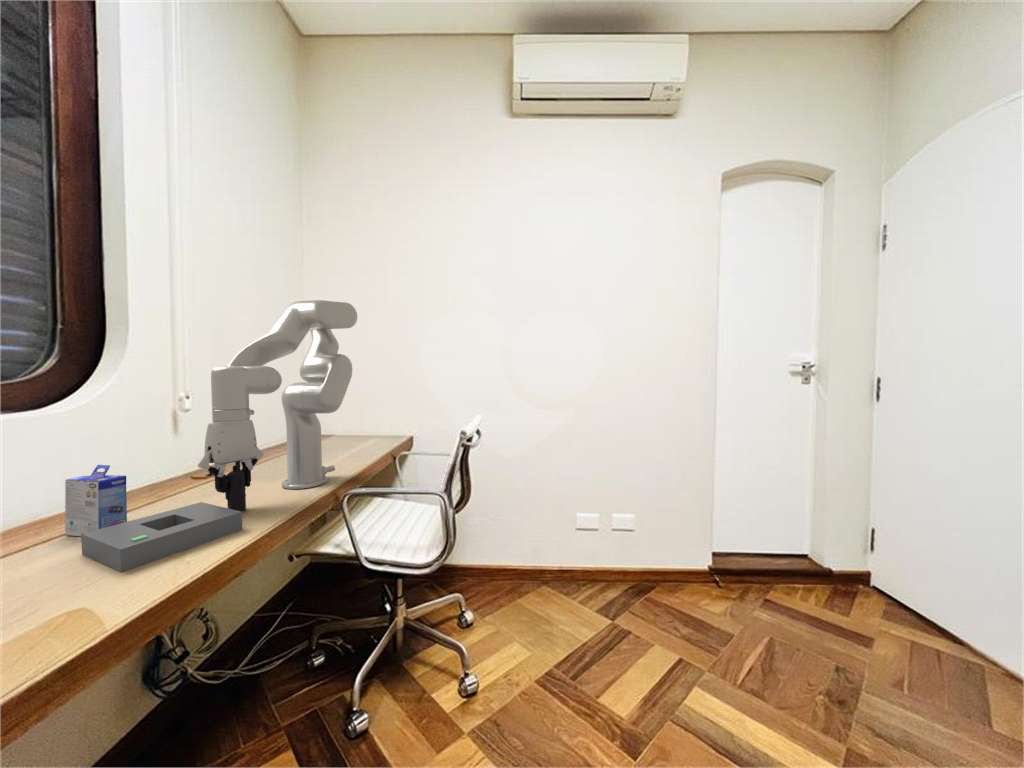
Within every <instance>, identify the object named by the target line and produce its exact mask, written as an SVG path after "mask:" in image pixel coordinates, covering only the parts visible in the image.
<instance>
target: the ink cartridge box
mask: <svg viewBox="0 0 1024 768" xmlns="http://www.w3.org/2000/svg"><path fill="white" fill-rule="evenodd" d="M110 467H111V465H108V464H107V465H106V464H97V465H96V466H95V468H94V469H93V470H92V473H91V474H88V475H83V476H77V477H76V476H75V477H72V478H68V479H65V480H64V484H65V485H64V487H65V488H64V489H65V490H64V491H65V492H64V493H65V494H64V495H65V496H64V497H65V498H64V499H65V500H64V503H65V507H64V509H65V511H64V512H65V513H64V514H65V516H64V517H65V519H64V523H65V524H64V525H65V526H64V527H65V529H64V532H65V533H64V534H65V536H74V537H81V534H83V533H86V532H90V531H94V530H98V529H102V528H105V527H109V526H113V525H117V524H120V523H124V522H128V509H127V508H128V507H127V505H128V504H127V502H128V501H127V500H128V499H127V496H128V495H127V475H122V474H121V475H120V474H119V475H116V474H107V472H108V471H109V470H110ZM99 469H103V471H98V470H99Z"/></svg>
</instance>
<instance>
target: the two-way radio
mask: <svg viewBox="0 0 1024 768" xmlns="http://www.w3.org/2000/svg"><path fill="white" fill-rule="evenodd" d="M234 463H235V464H234V465H233V466H232V470H231V471H229V472H228V473H227V475H226V474H225V473H224V476H226V477H227V492H226V493H224V495H225V500H227V508H228V509H232V510H237V511H241V512H242V513H243V511H244V512H245V511H246V510H247V509H246V508H247V503H246V502H247V500H246V499H247V498H246V497H247V493H246V488H247V487H246V486H245V473H244V472H242V471H240V470H241V464H240V461H237V462H234Z"/></svg>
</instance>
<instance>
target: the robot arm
mask: <svg viewBox="0 0 1024 768" xmlns="http://www.w3.org/2000/svg"><path fill="white" fill-rule="evenodd" d="M357 322H358V312H357V309H356V307H354V305H352V304H351V303H349V302H345V301H333V300H321V299H317V300H299V301H298V300H297V301H293V302H291V303H290V304H289V305H287V307H285V309H284V310H283V312H282V314H280V316H279V317H278V319H277V320H276V321H275V323H274V324H273V326H272V327H271V328H270V330H269V331H268V332H267V333H266V334H265V335H263V336H261V337H259V338H258V339H256V340H255V341H253V342H251V343H249V345H247V346H245V347H244V348H243V349H241V350H240V351H238V353H236V355H234V356H233V358H232V360H231V361H230V362H229V363H228V365H227V366H216V367H213V368H212V369H211V372H210V386H211V388H210V389H211V413H212V414H211V415H212V422H210V423H209V422H208V424H207V428H206V432H205V438H204V439H205V440H204V456H203V458H201V460H200V462H199V463H198V464H197V467H198V468H199V469H202V470H203V471H206V472H208V474H211V475H212V477H214V488H215V491H216V492H217V493H222V494H225V493H226V492H227V477H226V476H227V475H226V476H224V474H225V471H226V467H227V464H231V463H235V462H237V461H240V468H241V469H240V471H242V472H244V473H245V488H248V487H251V481H252V473H251V472H252V470H253V469H254V467H255V465H256V464H257V462H258V461H259V460H260V459H261V458H262V457H263V456H264V452H263V451H262V450H261V449H260V448H259V447H258V443H257V442H258V440H257V434H256V429H255V425H254V421H253V420H252V419H251V416H253V415H255V410H254V409H251V407H250V395H269V394H272V393H275V392H276V391H278V390H279V389H280V388H281V385H282V381H283V378H282V376H281V373H280V372H279V371H278V370H277V369H276V368H273V367H270V366H268V365H266V364H268V363H270V362H272V361H275V360H278V359H281V358H284V357H286V356H288V355H290V354H293V353H295V352H296V351H297V350H298V349H299V347H300V346H301V344H302V342H303V341H304V339H305V338H306V336H307V335H308V334H309V332H310V334H311V343H310V345H309V347H308V350H307V351H306V354H305V356H304V357H303V358H304V359H303V360H302V362H301V366H300V369H299V376H300V377H301V379H302V380H303V382H295V383H291V384H289V385H288V386H286V387H285V388H284V389H283V391H282V394H281V405H282V408H283V412H284V418H285V425H286V426H285V427H286V430H285V431H286V460H287V461H286V465H287V466H286V467H287V479H285V480H283V481H282V482H281V487H282V488H284V489H286V490H287V489H289V490H300V489H309V488H314V487H319V486H321V485H325V484H326V483H327V482H329V481H328V478H329V477H328V476H327V473H332V472H334V471H335V470H336V467H335V465H334V464H333V465H329V466H324V465H323V456H322V455H323V454H322V452H323V451H322V448H323V447H322V427H321V422H320V420H319V418H318V416H317V414H332V413H335V412H336V411H338V410H339V408H340V407H341V405H342V404H343V401H344V399H345V396H346V393H347V390H348V388H349V385H350V382H351V380H352V377H353V364H352V361H351V358H349V357H348V356H346V355H345V354H341V353H338V352H339V347H340V345H339V342H338V339H337V337H335V335H334V333H333V331H332V330H336V329H337V330H339V329H341V330H342V329H350V328H353V327H354V326H355V325H356V323H357ZM304 381H305V382H304ZM210 464H213V466H212V465H210Z"/></svg>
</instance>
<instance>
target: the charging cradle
mask: <svg viewBox="0 0 1024 768" xmlns="http://www.w3.org/2000/svg"><path fill="white" fill-rule="evenodd" d="M243 528H244V527H243V512H241V511H237V510H232V509H228V507H224V506H220V505H215V504H211V503H207V502H203V501H200V502H198V503H191V504H188V505H185V506H181V507H178V508H174V509H170V510H165V511H163V512H159V513H155V514H151V515H146V516H142V517H140V518H136V519H132V520H129V521H128V520H127V522H124V523H120V524H117V525H113V526H109V527H105V528H102V529H98V530H94V531H90V532H86V533H83V534H81V536H80V538H81V541H80V542H81V555H82V556H85V557H87V558H89V559H91V560H93V561H95V562H98V563H100V564H102V565H103V566H104V565H105V566H107V567H109V568H110V569H113V570H115V571H117V572H119V573H123V572H126V571H128V570H131V569H135V568H137V567H140V566H143V565H146V564H149V563H151V562H153V561H154V562H155V561H157V560H160V559H163V558H165V557H166V558H167V557H168V556H171V555H174V554H177V553H180V552H182V551H186V550H189V549H191V548H194V547H197V546H200V545H203V544H205V543H208V542H212V541H215V540H217V539H220V538H223V537H226V536H229V535H232V534H235V533H238V532H241V531H243Z"/></svg>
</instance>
